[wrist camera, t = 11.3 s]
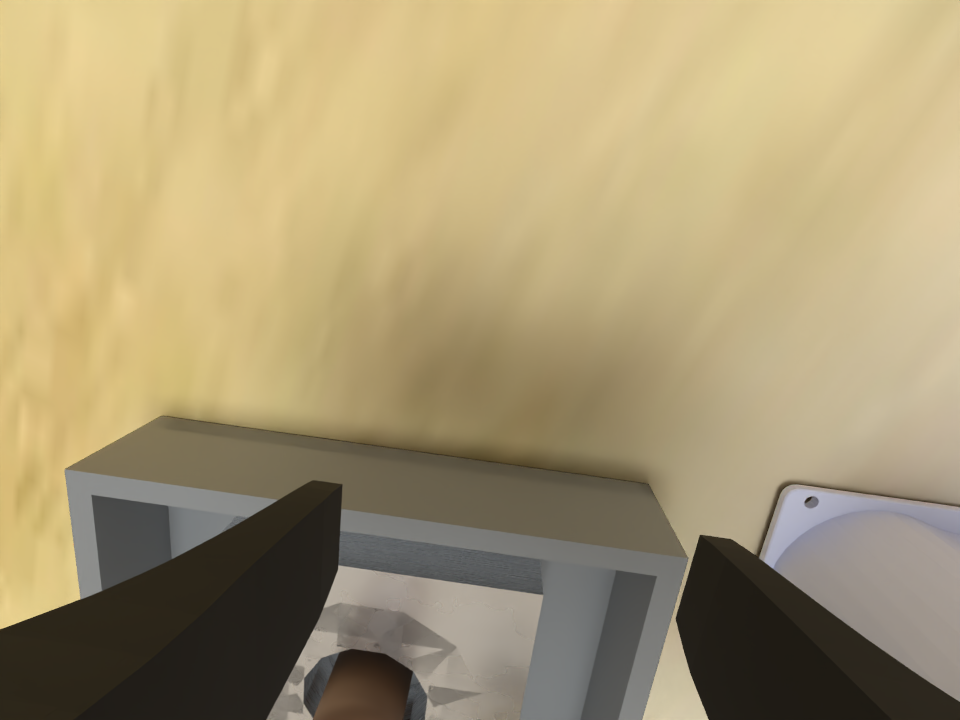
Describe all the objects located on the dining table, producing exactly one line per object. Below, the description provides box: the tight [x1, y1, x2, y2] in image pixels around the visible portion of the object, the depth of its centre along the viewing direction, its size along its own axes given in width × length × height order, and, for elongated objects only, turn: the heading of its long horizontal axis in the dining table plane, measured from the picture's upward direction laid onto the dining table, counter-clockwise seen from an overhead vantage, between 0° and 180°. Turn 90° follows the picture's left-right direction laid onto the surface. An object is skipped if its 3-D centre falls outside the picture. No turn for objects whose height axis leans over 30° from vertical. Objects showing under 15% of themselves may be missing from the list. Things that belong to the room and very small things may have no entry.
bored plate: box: [221, 516, 543, 720], centre depth 20 cm, size 12×12×2 cm
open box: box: [65, 416, 688, 720], centre depth 20 cm, size 20×18×4 cm
